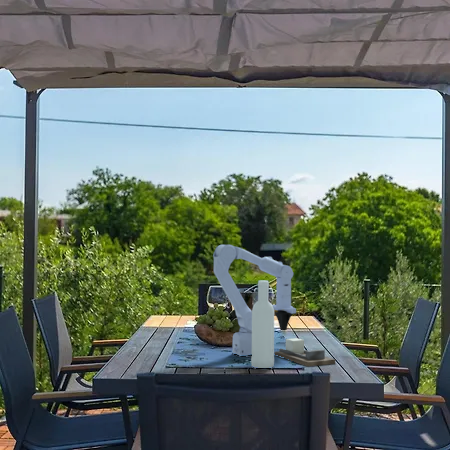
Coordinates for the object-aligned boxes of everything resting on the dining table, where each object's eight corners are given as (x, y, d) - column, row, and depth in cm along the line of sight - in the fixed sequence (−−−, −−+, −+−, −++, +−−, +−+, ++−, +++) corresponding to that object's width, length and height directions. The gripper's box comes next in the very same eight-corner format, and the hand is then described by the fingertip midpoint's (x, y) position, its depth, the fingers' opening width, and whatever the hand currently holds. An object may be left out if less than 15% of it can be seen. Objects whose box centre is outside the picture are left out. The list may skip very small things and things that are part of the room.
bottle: (260, 363, 211) (260, 279, 212) (278, 366, 206) (279, 280, 207) (246, 367, 205) (247, 280, 206) (265, 370, 200) (266, 281, 201)
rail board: (308, 366, 207) (308, 353, 208) (274, 355, 227) (274, 343, 227) (335, 363, 213) (335, 351, 213) (300, 353, 232) (300, 341, 233)
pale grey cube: (293, 354, 222) (293, 341, 222) (285, 352, 226) (285, 339, 227) (303, 353, 224) (304, 340, 224) (296, 351, 229) (296, 338, 229)
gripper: (302, 296, 229) (302, 331, 228) (282, 293, 241) (281, 327, 241) (287, 297, 225) (287, 333, 225) (267, 294, 238) (267, 328, 238)
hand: (283, 330), depth 233 cm, fingers closed
